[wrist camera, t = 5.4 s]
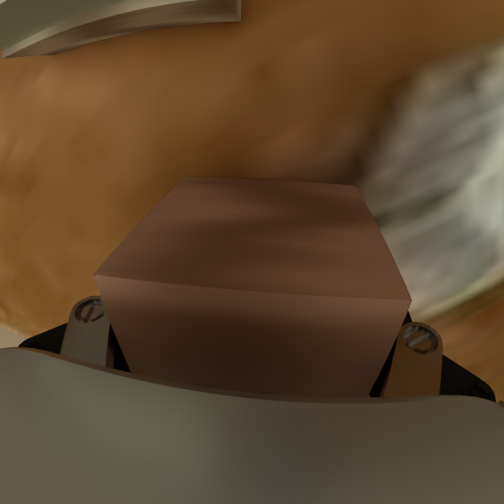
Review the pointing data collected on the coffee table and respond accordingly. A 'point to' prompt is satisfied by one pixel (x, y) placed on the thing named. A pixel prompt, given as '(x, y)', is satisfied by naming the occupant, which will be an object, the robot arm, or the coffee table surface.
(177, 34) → the coffee table surface
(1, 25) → the tower top
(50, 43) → the tower base
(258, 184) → the terracotta cube
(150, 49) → the coffee table surface
